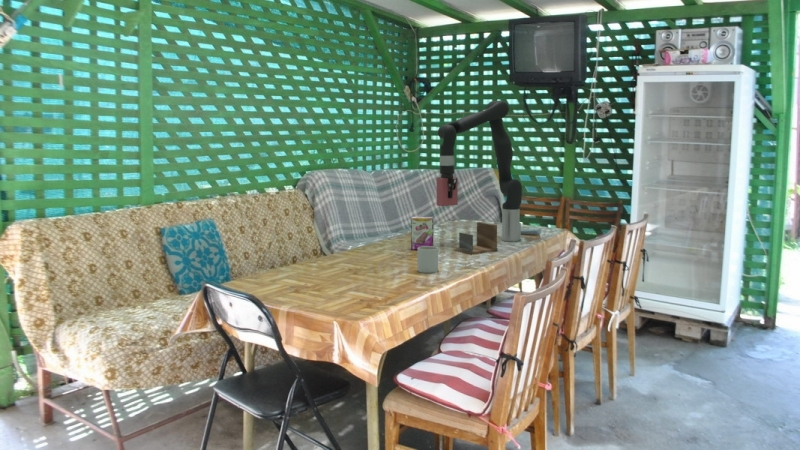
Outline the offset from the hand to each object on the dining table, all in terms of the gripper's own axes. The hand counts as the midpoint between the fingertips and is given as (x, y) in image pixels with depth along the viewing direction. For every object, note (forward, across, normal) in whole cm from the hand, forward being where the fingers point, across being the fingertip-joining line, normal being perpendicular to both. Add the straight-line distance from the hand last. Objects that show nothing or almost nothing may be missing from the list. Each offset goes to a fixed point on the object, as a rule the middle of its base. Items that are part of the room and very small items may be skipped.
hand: (447, 197), depth 345 cm
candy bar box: (+25, -1, +16) cm, 30 cm away
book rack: (+25, -20, -3) cm, 32 cm away
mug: (+25, -44, +42) cm, 66 cm away
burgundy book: (+4, 0, 0) cm, 4 cm away
